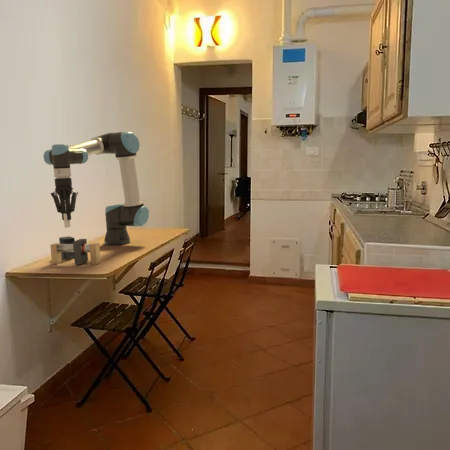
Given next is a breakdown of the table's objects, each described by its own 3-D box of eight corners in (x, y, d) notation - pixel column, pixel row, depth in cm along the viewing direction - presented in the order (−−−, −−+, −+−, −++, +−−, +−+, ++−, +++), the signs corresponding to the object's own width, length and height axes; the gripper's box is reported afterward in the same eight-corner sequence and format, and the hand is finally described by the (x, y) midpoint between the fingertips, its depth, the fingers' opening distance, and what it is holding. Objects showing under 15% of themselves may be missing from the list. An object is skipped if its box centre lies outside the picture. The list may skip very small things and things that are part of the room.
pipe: (51, 264, 226) (50, 244, 225) (56, 262, 230) (54, 243, 229) (96, 264, 222) (95, 244, 221) (100, 262, 226) (99, 243, 225)
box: (76, 258, 239) (74, 237, 238) (64, 259, 236) (63, 239, 234) (71, 256, 245) (69, 236, 244) (60, 257, 242) (58, 237, 241)
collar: (74, 264, 222) (72, 241, 220) (82, 260, 229) (80, 238, 228) (80, 264, 221) (78, 241, 220) (88, 260, 229) (86, 238, 227)
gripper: (45, 178, 218) (50, 228, 222) (71, 177, 216) (76, 228, 220) (54, 177, 226) (58, 225, 229) (79, 176, 224) (83, 225, 227)
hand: (67, 226), depth 225 cm, fingers closed
